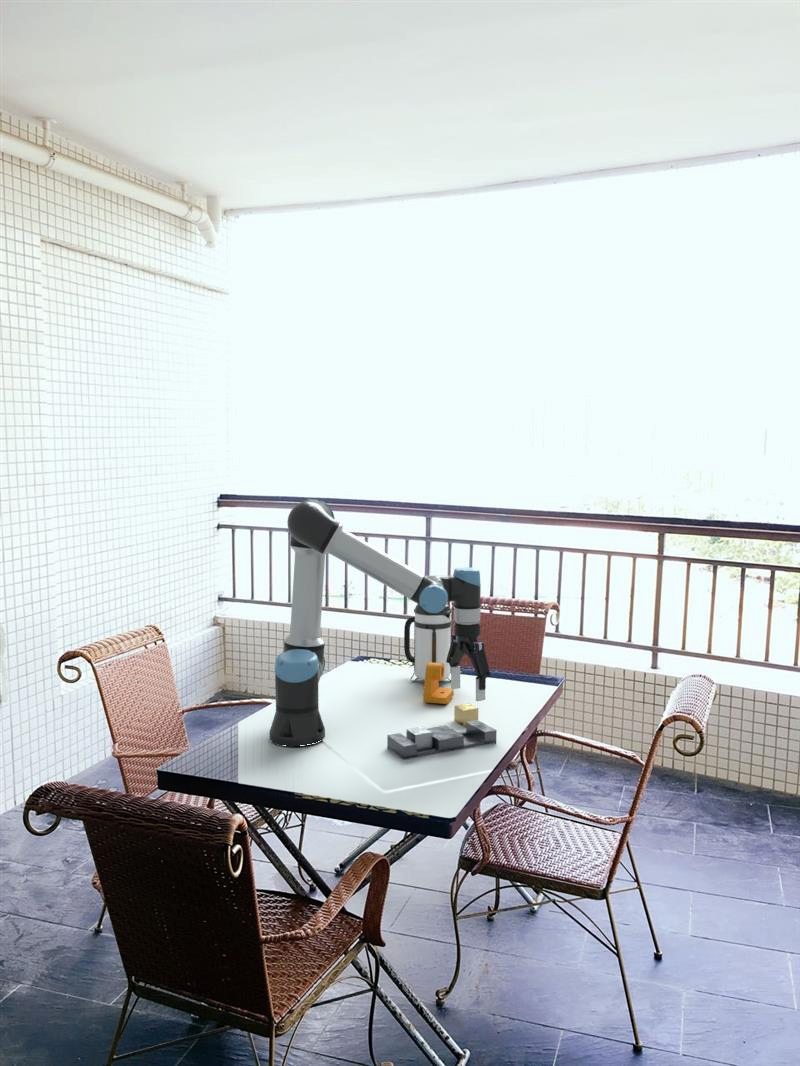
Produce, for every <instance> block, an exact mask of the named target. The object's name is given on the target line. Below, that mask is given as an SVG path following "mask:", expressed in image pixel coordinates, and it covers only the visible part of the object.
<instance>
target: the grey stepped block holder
mask: <svg viewBox="0 0 800 1066" xmlns="http://www.w3.org/2000/svg"><path fill="white" fill-rule="evenodd" d="M426 729H428V730H430V731H431V732H432V749H431V750H426V751H420V752H417V744H416V743H414V742H413V741H411V740H410V739H408V738H407V737H406V736H405V735H404V734H402V733H401V732H398V733H393V734H388V735H387V737H386V738H387V741H386V742H387V746H386V747H387V749H388V750H390V751H391V752H393V753H394V754H395V755H396V756H398V757H399V758H401V759H402V760H409V759H410V760H411V759H413V758H419V757H420V758H421V757H425V756H432V755H436V754H442V753H447V752H452V751H458V750H463V749H468V748H469V749H470V748H474V747H479V746H484V745H485V746H486V745H490V744H494V745H497V732H498V730H497V729H496V728H493V727H492V726H490V725H487V724H486V723H484V722H482V721H480V720H479V719H478V720H474V721H469V722H466V727H465V730H464V731H460V732H458V731H456V730H455V729H453V728H451V727H450V726H447V725H440V726H434V727H426Z"/></svg>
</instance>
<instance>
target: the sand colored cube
mask: <svg viewBox="0 0 800 1066" xmlns="http://www.w3.org/2000/svg"><path fill="white" fill-rule="evenodd" d="M453 711H454V716H453V717H454V719H453V721H454V722H455V723H457V724H458V725H460V726H462V727H464V728H466V722H469V721H474V720H479V707H477V706H475V705H473V704H472V703H463V704H456V705H454V710H453Z"/></svg>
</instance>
